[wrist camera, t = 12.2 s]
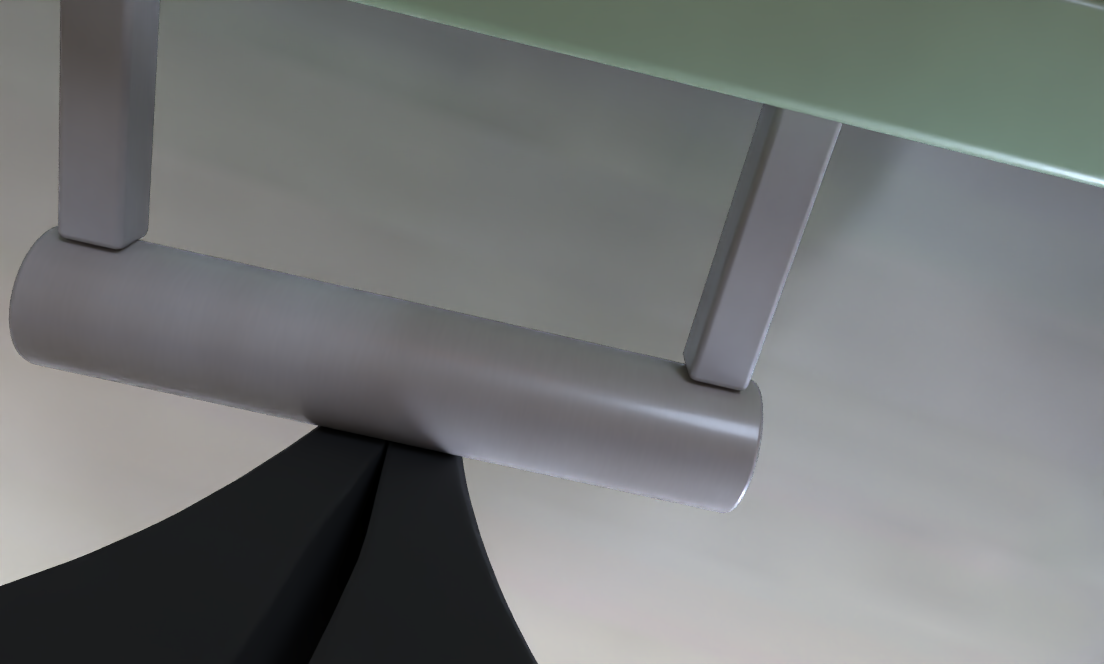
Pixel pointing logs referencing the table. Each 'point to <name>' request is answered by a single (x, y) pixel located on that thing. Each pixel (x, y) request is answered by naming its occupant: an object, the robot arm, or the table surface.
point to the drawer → (518, 352)
